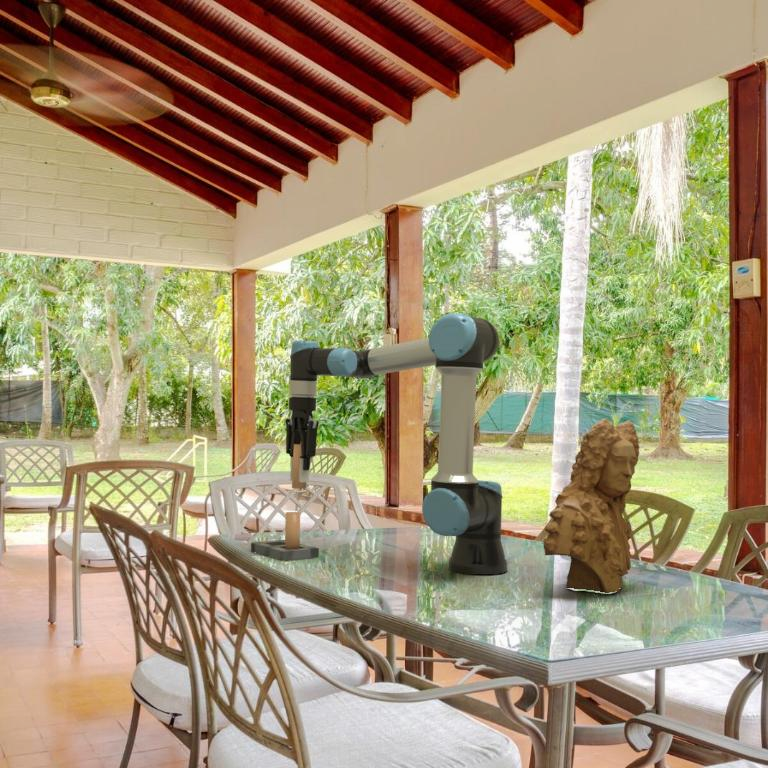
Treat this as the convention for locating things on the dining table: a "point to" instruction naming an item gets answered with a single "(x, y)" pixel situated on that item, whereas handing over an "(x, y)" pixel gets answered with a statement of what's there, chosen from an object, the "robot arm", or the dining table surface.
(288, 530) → the tan wooden cylinder
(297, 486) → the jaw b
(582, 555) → the bust
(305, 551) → the housing
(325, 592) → the dining table surface
